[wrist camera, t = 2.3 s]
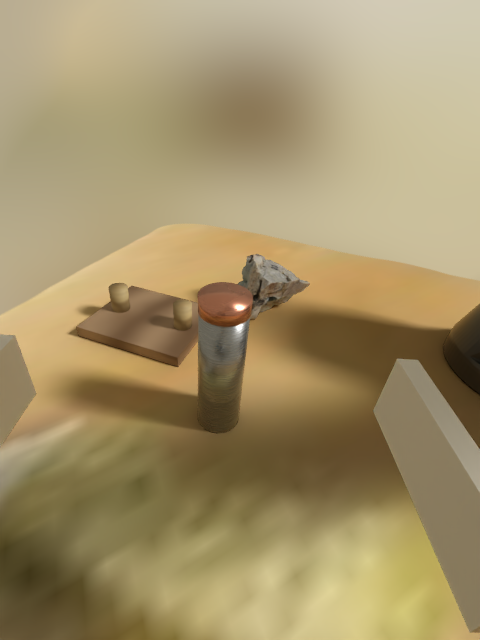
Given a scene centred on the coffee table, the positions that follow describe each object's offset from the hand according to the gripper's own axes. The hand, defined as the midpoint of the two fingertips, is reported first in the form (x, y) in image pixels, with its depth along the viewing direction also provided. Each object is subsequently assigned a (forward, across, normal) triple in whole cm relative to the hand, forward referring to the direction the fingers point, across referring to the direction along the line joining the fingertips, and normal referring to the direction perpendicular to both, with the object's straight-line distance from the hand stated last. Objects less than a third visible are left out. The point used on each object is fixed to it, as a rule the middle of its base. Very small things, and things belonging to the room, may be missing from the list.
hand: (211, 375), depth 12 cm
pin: (+10, 0, -14) cm, 18 cm away
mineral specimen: (+28, +6, -14) cm, 32 cm away
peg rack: (+23, -8, -14) cm, 28 cm away
